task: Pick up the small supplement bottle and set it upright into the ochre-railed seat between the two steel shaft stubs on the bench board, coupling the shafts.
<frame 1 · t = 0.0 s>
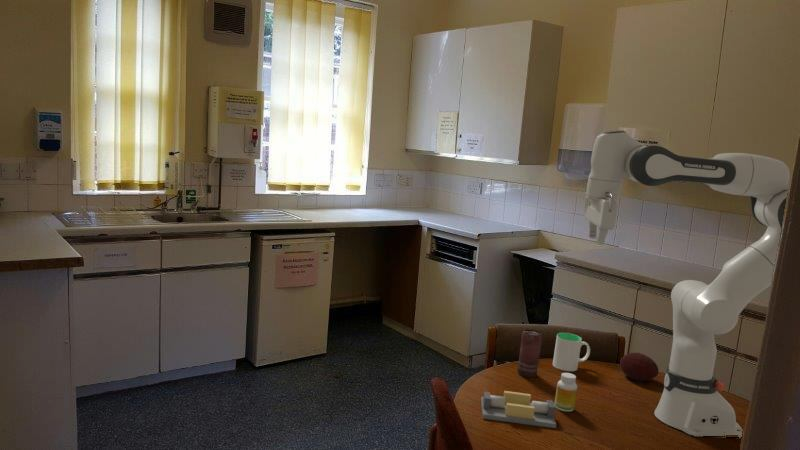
hand: (596, 241, 166), 48 cm above the table, fingers open, 8 cm apart
can: (526, 374, 194), on the table
mug: (570, 367, 205), on the table
potato: (636, 378, 200), on the table
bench: (516, 413, 165), on the table
supplement bottle: (563, 408, 172), on the table
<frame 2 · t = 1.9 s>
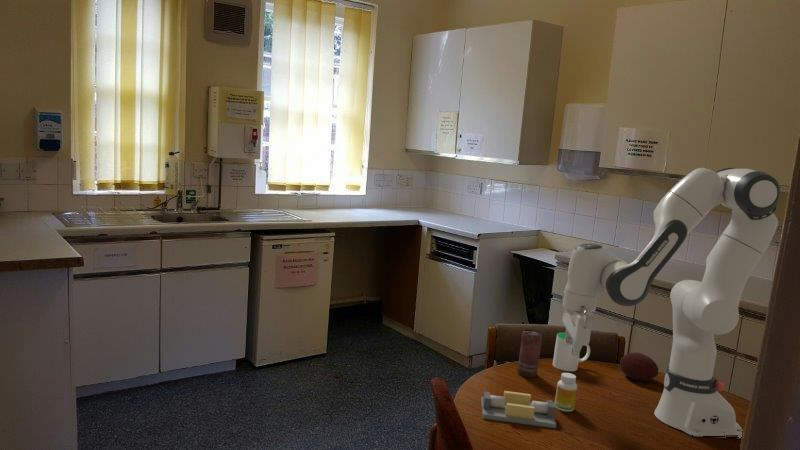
hand: (571, 349, 169), 17 cm above the table, fingers open, 8 cm apart
nothing on the table moved.
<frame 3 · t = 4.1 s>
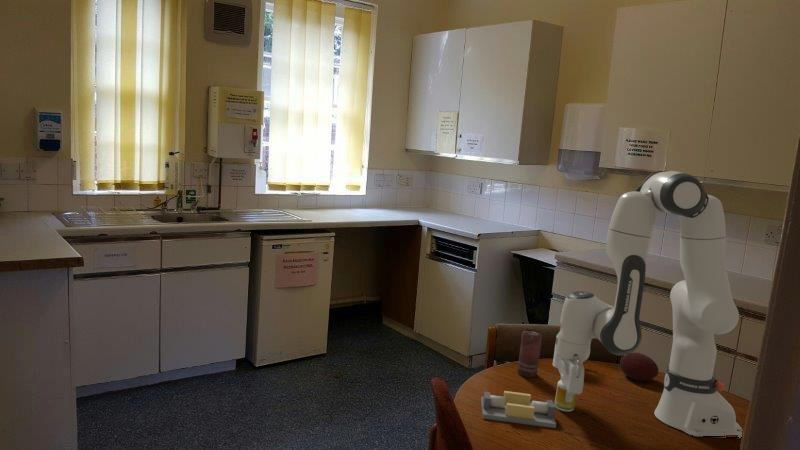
hand: (565, 395, 171), 4 cm above the table, fingers closed on supplement bottle, 5 cm apart
supplement bottle: (563, 408, 172), on the table, touching gripper
everything else where it was.
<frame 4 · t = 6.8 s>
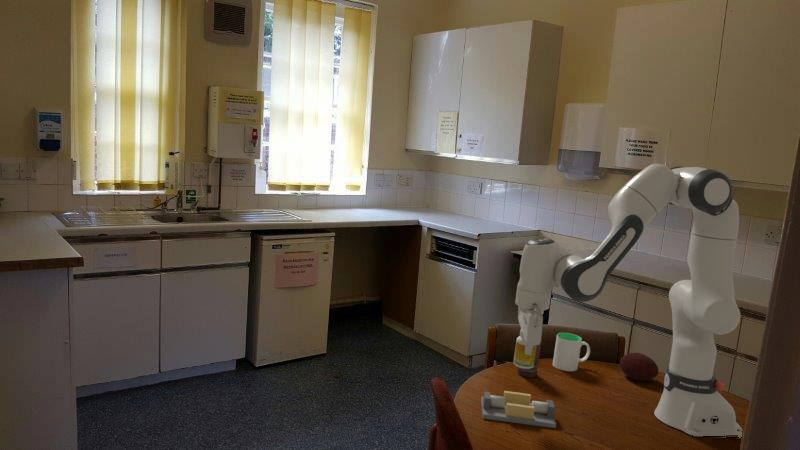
hand: (526, 349, 162), 18 cm above the table, fingers closed on supplement bottle, 5 cm apart
supplement bottle: (523, 365, 163), point 14 cm above the table, touching gripper
everything else where it was.
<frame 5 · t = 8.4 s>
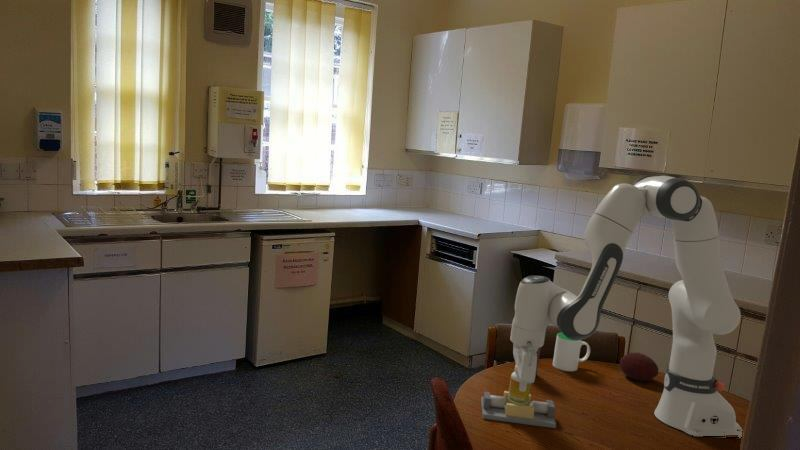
hand: (520, 385, 164), 8 cm above the table, fingers closed on supplement bottle, 5 cm apart
supplement bottle: (517, 401, 164), point 4 cm above the table, touching gripper
everything else where it was.
when the fingers open (6 cm above the table, at t = 9.7 s): supplement bottle stays where it is, resting on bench.
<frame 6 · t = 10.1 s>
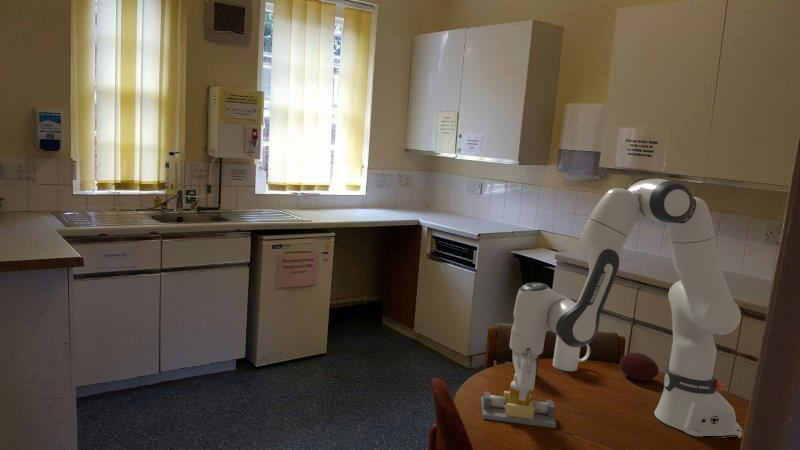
hand: (520, 392, 164), 6 cm above the table, fingers open, 8 cm apart
supplement bottle: (517, 409, 165), point 1 cm above the table, touching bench
everything else where it was.
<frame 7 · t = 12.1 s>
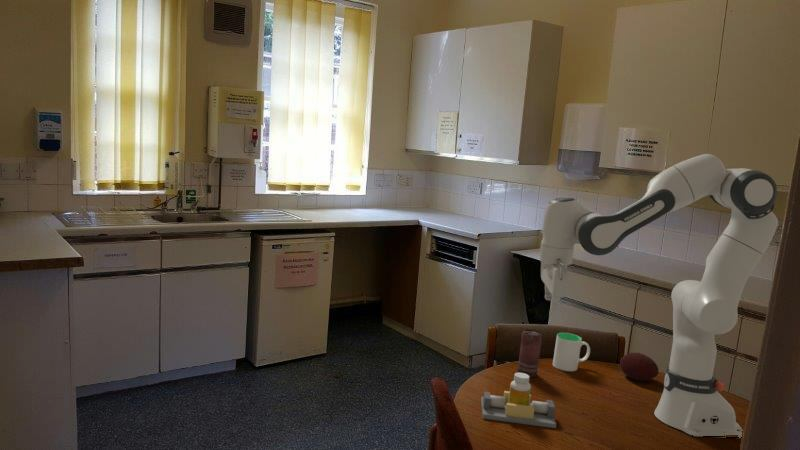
hand: (550, 304, 170), 29 cm above the table, fingers open, 8 cm apart
nothing on the table moved.
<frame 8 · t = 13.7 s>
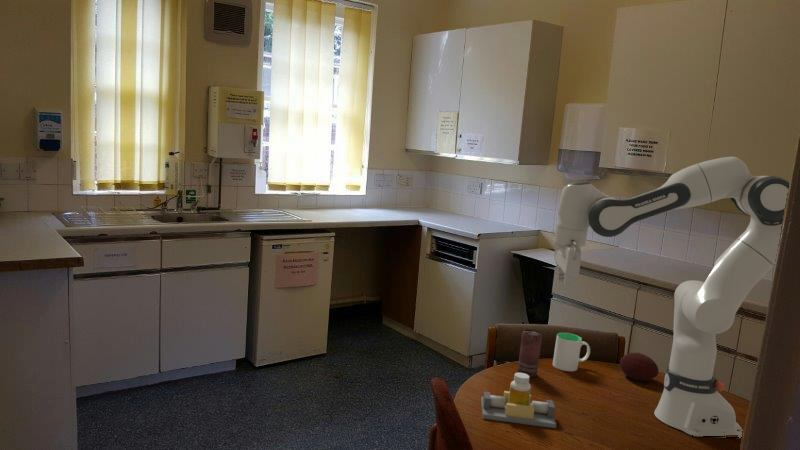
hand: (563, 284, 177), 33 cm above the table, fingers open, 8 cm apart
nothing on the table moved.
at the end: supplement bottle inside the target area on the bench (0.3 cm from its centre), point 1.0 cm above the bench's base; supplement bottle tilted 0°; the gripper is holding nothing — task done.
